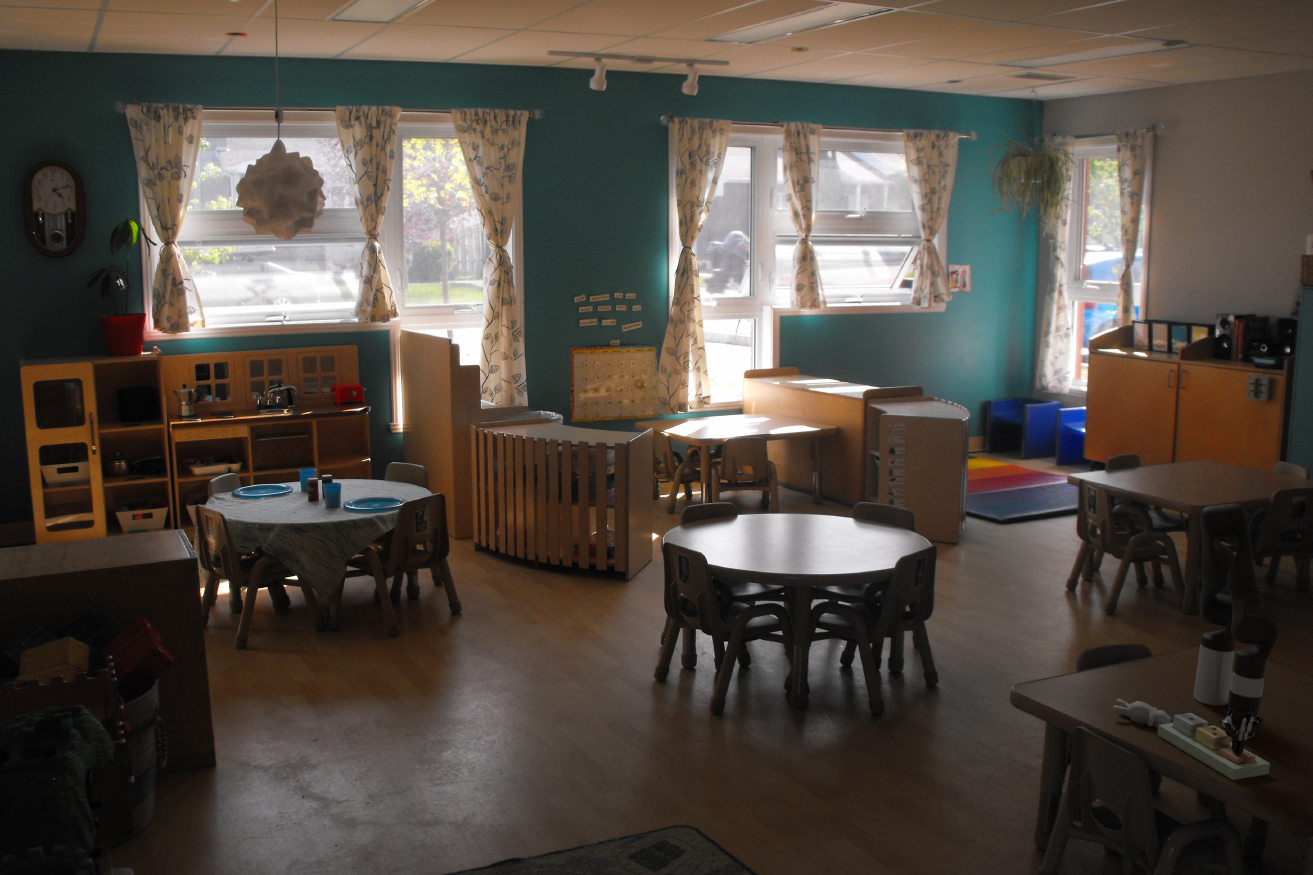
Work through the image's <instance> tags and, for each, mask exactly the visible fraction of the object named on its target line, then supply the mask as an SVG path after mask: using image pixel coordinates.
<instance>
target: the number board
mask: <svg viewBox="0 0 1313 875" xmlns="http://www.w3.org/2000/svg"><path fill="white" fill-rule="evenodd" d="M1172 727H1173V722H1170V723H1169V724H1162V725H1158V728H1157V733H1156V734H1157V736H1158V737H1160V738H1161V739H1163V740H1164V741H1167V742H1168V743H1170V744H1172V745H1173V746H1175V747H1176V748H1178V749H1181V750H1182V751H1183V752H1185V753H1187V754H1188V755H1190V756H1191V757H1193V758H1195V759H1197V760H1198V761H1200V762H1202V763H1204V764H1205V765H1207V766H1208V767H1211V768H1212V769H1213V770H1215V771H1217V772H1219V773H1221V775H1223V776H1225V777H1227V778H1229V779H1230V780H1232V781H1236V780H1240V779H1242V780H1243V779H1248V778H1252V777H1259V776H1265V775H1266V776H1267V775H1269V774H1270V773H1269V772H1270V766H1271V763H1270V762H1269V761H1267V760H1264V759H1263V758H1261V757H1260V756H1258V755H1256V754H1254V753H1252V752H1250V751H1248V750H1247V749H1245V748H1244V750H1245V751H1247V752H1249V753H1251V754H1253V755H1254V756H1256V757H1255V762H1254V763H1248V764H1242V765H1236V764H1234V763H1232V762H1231V761H1229V760H1227V759H1225V758H1224V757H1222V756H1220V755H1218V753H1219V750H1216V751H1212V750H1210V749H1208V748H1206V747H1205V746H1203V745H1201V744H1199V743H1198V742H1196V741H1195V737H1190V738H1189V737H1187V736H1186V735H1184V734H1182V733H1180V732H1179V731H1177V730H1175V729H1173V728H1172ZM1231 746H1232V741H1231V744H1230V747H1231Z"/></svg>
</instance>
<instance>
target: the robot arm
mask: <svg viewBox="0 0 1313 875" xmlns="http://www.w3.org/2000/svg"><path fill="white" fill-rule="evenodd" d="M1199 519H1200V533H1201V542H1202V544H1201V546H1202V549H1201V571H1200V572H1201V593H1200V598H1199V599H1200V601H1199V616H1200V619H1201V620H1202V621H1203V622H1205V623H1208V624H1210V625H1211V624H1212V625H1216V626H1217V625H1218V626H1222V627H1225V628H1223V629H1221V630H1215V631H1207V632H1204V633H1203V634H1202V635H1201V637H1200V645H1199V652H1198V659H1197V667H1196V673H1195V674H1196V675H1195V680H1194V689H1193V694H1192V695H1193V698H1194V700H1196V701H1198V702H1199V703H1202V704H1203V705H1204V704H1205V705H1209V706H1215V707H1222V706H1227V704H1228V708H1229V707H1230V710H1228V711H1229V712H1227V713H1228V714H1227V713H1226V715H1228V717H1227V716H1226V717H1227V718H1226V717H1225V718H1226V719H1225V718H1224V719H1223V718H1220V719H1219V724H1220V726H1221V728H1222V730H1223V731H1225V733H1226V735H1227V736H1230V737H1231V742H1232V746H1231V749H1232V751H1234V752H1235V753H1237V754H1238V753H1243V750H1244V749H1245V744H1246V740H1248V738H1247V737H1251V738H1253V737H1254V736H1255V735H1254V733H1255V734H1256V732H1257V730H1258V729H1259V728H1260V726H1261V725H1262V723H1263V722H1264V718H1263V717H1261V716H1259V715H1258V713H1259V711H1260V710H1261V706H1262V705H1261V704H1262V698H1263V691H1264V686H1265V684H1264V678H1265V672H1266V664H1267V661H1268V659H1269V657H1270V655H1271V654H1272V651H1273V649H1274V647H1275V645H1276V643H1277V640H1278V638H1279V627H1278V624H1277V622H1276V621H1275V620H1274V619H1273V618H1271V617H1268V616H1267V617H1266V616H1254V615H1253V616H1250V615H1249V614H1248V612H1253V611H1256V610H1259V609H1260V608H1262V605H1263V598H1262V595H1261V590H1260V587H1259V584H1258V579H1257V575H1256V572H1255V563H1254V555H1253V547H1252V540H1251V534H1250V533H1251V532H1250V527H1249V521H1248V517H1247V514H1246V512H1245V509H1244V507H1243V506H1242V505H1241V504H1240V503H1225V504H1217V505H1211V506H1206V507H1203V509H1202V510H1201V512H1200V517H1199ZM1234 538H1236V539H1237V549H1236V554H1235V553H1234V551H1233V550H1231V549H1230V548H1229V547H1228V546H1227V545H1225V544H1224V543H1222V542H1221V541H1220V540H1223V539H1226V540H1227V539H1234ZM1227 589H1228V592H1229V595H1226V594H1221V592H1224V591H1225V590H1227ZM1237 642H1238V643H1240V644H1246V645H1251V646H1250V647H1247V648H1243V649H1239V650H1237V651H1236V653H1235V650H1236V643H1237ZM1251 728H1252V729H1251ZM1236 731H1237V733H1236ZM1253 735H1254V736H1253ZM1252 736H1253V737H1252Z"/></svg>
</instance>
